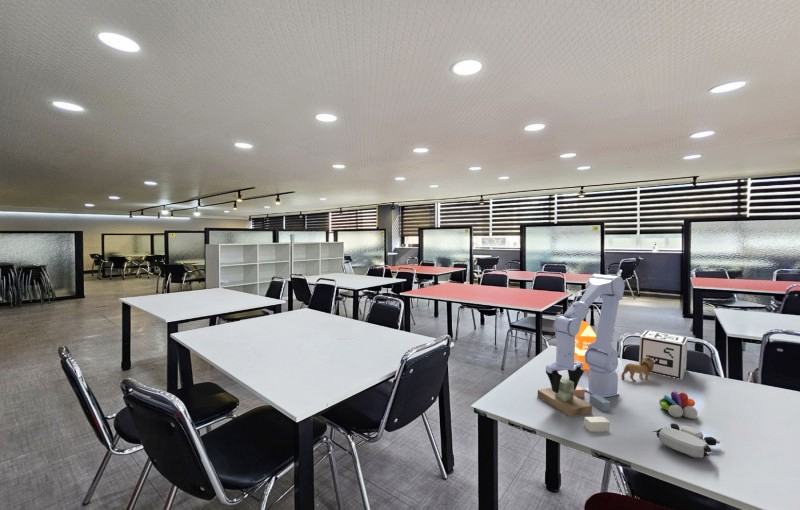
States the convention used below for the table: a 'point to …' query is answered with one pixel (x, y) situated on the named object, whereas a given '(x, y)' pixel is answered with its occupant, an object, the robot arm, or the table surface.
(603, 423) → the cream brick
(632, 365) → the lion figurine
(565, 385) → the sage block
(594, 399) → the slate brick
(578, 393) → the terracotta brick
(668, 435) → the robot toy
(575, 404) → the walnut slab
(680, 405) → the colorful egg cluster
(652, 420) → the table surface
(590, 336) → the orange juice
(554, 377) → the robot arm
